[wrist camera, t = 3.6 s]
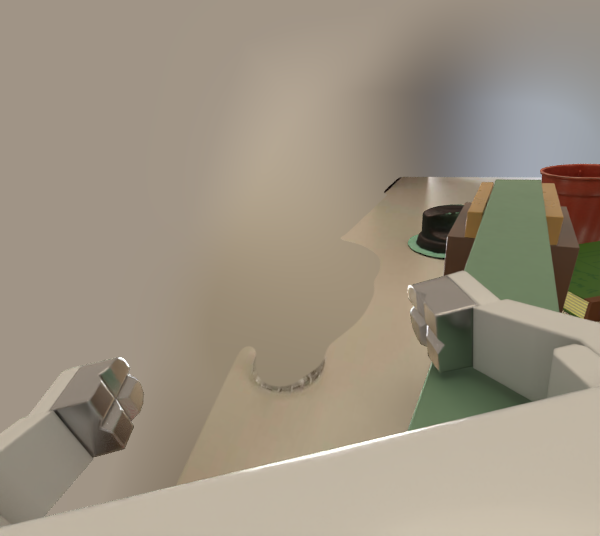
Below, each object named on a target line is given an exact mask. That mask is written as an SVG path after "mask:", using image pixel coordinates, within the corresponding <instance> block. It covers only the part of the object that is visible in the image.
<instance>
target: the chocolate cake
mask: <svg viewBox="0 0 600 536" xmlns="http://www.w3.org/2000/svg"><path fill="white" fill-rule="evenodd" d="M463 206H464V205H462V204H460V205H444V206H437V207H433V208H430V209H428V210H426V211H424V213H423V221H422V231H421V232H420V233H419V234H418V235H415V236H413V237H411V238H410V239H409V241H408V245H409V246H410V248H412V249H413V250H415V251H416V252H419V253H422V254H425V255H428V256H432V257H441V258H445V254H446V244H447V236H448V234H449V232H450V230H451V228H452V227H453V225H454V223H455V221H456V219H457V217H458V216H459V214H460V212H461V210H462V208H463Z"/></svg>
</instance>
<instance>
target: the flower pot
mask: <svg viewBox="0 0 600 536" xmlns="http://www.w3.org/2000/svg"><path fill="white" fill-rule="evenodd" d="M540 172H541V174H542V183H554V184H555V188H556V191H557V195H558V199H559V202H560V206H563V207H567V210H568V213H569V216H570V219H571V223H572V226H573V229H574V232H575V235H576V238H577V241H578V244H583V243H589V242H596V241H600V164H569V165H557V166H550V167H545V168H542V169H541V170H540Z"/></svg>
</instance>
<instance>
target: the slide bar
mask: <svg viewBox="0 0 600 536" xmlns="http://www.w3.org/2000/svg"><path fill="white" fill-rule="evenodd" d="M464 271H466V272H468V273H469V274H470V275H471V276H472V277H474V278H475V279H476V280H477V281H478V282H480V283H481V284H482V285H483V286H484V287H486V288H487V289H488V290H489V291H490V292H492V293H493V294H494V295H495V296H496V297H498V298H499V299H500V300H505V299H509V300H513V301H517V302H521V303H525V304H528V305H532V306H536V307H540V308H544V309H548V310H552V311H556V312H559V305H558V298H557V291H556V284H555V276H554V269H553V262H552V255H551V248H550V240H549V233H548V226H547V219H546V212H545V204H544V197H543V190H542V183H541V180H496V181H495V184H494V186H493V189H492V192H491V195H490V198H489V201H488V203H487V206H486V209H485V212H484V215H483V218H482V220H481V223H480V226H479V229H478V232H477V235H476V238H475V240H474V243H473V246H472V249H471V252H470V255H469V257H468V260H467V263H466V266H465V269H464ZM559 313H560V312H559ZM529 402H533V401H531V400H529V399H527V398H526V397H524V396H522V395H520V394H519V393H517V392H515V391H513V390H511V389H510V388H508V387H506V386H504V385H503V384H501V383H499V382H497V381H496V380H494V379H492V378H490V377H488V376H487V375H485V374H483V373H481V372H480V371H478V370H476V369H474V368H473V366H472V367H467V368H463V369H458V370H453V371H448V372H444V373H439V372H438V370H437V369H436V367H435V366H434V364H433V362H432V363H431V365H430V368H429V371H428V374H427V377H426V380H425V382H424V385H423V388H422V391H421V394H420V397H419V399H418V402H417V405H416V408H415V411H414V414H413V417H412V419H411V422H410V425H409V428H408V431H411V430H415V429H420V428H424V427H428V426H432V425H436V424H441V423H445V422H449V421H453V420H457V419H462V418H466V417H470V416H474V415H478V414H483V413H487V412H491V411H495V410H499V409H504V408H508V407H512V406H516V405H521V404H525V403H529Z"/></svg>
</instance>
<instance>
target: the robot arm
mask: <svg viewBox="0 0 600 536" xmlns="http://www.w3.org/2000/svg"><path fill="white" fill-rule="evenodd" d="M408 299H409V300H410V301H411V303H412V304H413V308H412V309H411V311H410V316H411V323H412V326H413V330H414V332H415V335H416V337H417V339H418V340H419V342H420V344H421V345H424V346H426V347H427V350H428V356H429V358H430V359H431V361H432V362H433V364H434V366H435V367H436V369H437V370H438V372H439V373H444V372H448V371H453V370H458V369H463V368H467V367H472V366H473V368H474V369H476V370H478V371H480V372H481V373H483V374H485V375H487V376H488V377H490V378H492V379H494V380H496V381H497V382H499V383H501V384H503V385H504V386H506V387H508V388H510V389H511V390H513V391H515V392H517V393H519V394H520V395H522V396H524V397H526V398H527V399H529V400H531V401H533V402H529V403H525V404H521V405H516V406H512V407H508V408H504V409H499V410H495V411H491V412H487V413H483V414H478V415H474V416H470V417H466V418H462V419H457V420H453V421H449V422H445V423H441V424H436V425H432V426H428V427H424V428H420V429H415V430H411V431H407V432H403V433H398V434H394V435H390V436H385V437H381V438H377V439H373V440H368V441H364V442H360V443H356V444H351V445H347V446H343V447H338V448H334V449H330V450H326V451H321V452H317V453H313V454H309V455H304V456H300V457H296V458H291V459H287V460H283V461H279V462H275V463H270V464H266V465H262V466H258V467H253V468H249V469H245V470H241V471H237V472H232V473H228V474H224V475H220V476H215V477H211V478H207V479H203V480H198V481H194V482H190V483H186V484H182V485H177V486H173V487H169V488H165V489H160V490H156V491H152V492H148V493H144V494H140V495H135V496H131V497H127V498H122V499H118V500H114V501H110V502H105V503H101V504H97V505H93V506H88V507H84V508H80V509H76V510H72V511H68V512H63V513H59V514H55V515H51V516H46V517H44V516H45V515H46V514H47V513H48V511H49V510H50V509H51V508H52V507H53V506H54V504H55V503H56V502H57V501H58V500H59V498H60V497H61V496H62V495H63V494H64V493H65V492H66V491H67V489H68V488H69V487H70V486H71V485H72V484H73V482H74V481H75V480H76V479H77V478H78V476H79V475H80V474H81V473H82V472H83V471H84V470H85V468H86V467H87V466H88V465H89V464H90V463H91V461H92V460H93V457H97V456H101V455H104V454H108V453H112V452H115V451H119V450H123V449H125V447H126V444H127V442H128V440H129V437H130V435H131V433H132V430H133V428H134V426H133V423H132V420H133V419H134V418H135V417H136V416H137V415H138V414H139V413H140V411H141V408H142V405H143V397H144V393H143V390H142V386H141V384H140V382H139V381H138V379H137V378H135V377H133V376H131V375H129V371H130V366H129V365H128V363H127V362H126V361H125V359H123V358H119V357H117V358H113V359H108V360H104V361H100V362H96V363H91V364H86V365H82V366H78V367H74V368H70V369H68V370H65V371H63V372H62V373H61V374H60V375H59V377H58V378H57V379H56V381H55V382H54V383H53V384H52V386H51V387H50V388H49V390H48V391H47V392H46V393H45V395H44V396H43V397H42V399H41V400H40V401H39V402H38V404H37V405H36V406H35V408H34V409H33V410H32V412H31V413H30V414H29V415H28V417H24V418H21V419H20V420H18V421H17V422H16V423H14V424H13V425H12V426H10V427H9V428H7V429H6V430H5V431H3V432H2V433H1V434H0V536H600V323H598V322H594V321H590V320H587V319H583V318H579V317H575V316H571V315H567V314H563V313H559V312H556V311H552V310H548V309H544V308H540V307H536V306H532V305H528V304H525V303H521V302H517V301H513V300H509V299H505V300H500V299H499V298H498V297H496V296H495V295H494V294H493V293H492V292H490V291H489V290H488V289H487V288H486V287H484V286H483V285H482V284H481V283H480V282H478V281H477V280H476V279H475V278H474V277H472V276H471V275H470V274H469V273H468V272H466V271H459V272H456V273H452V274H448V275H445V276H442V277H439V278H435V279H431V280H427V281H424V282H420V283H416V284H413V285H409V286H408Z"/></svg>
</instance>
